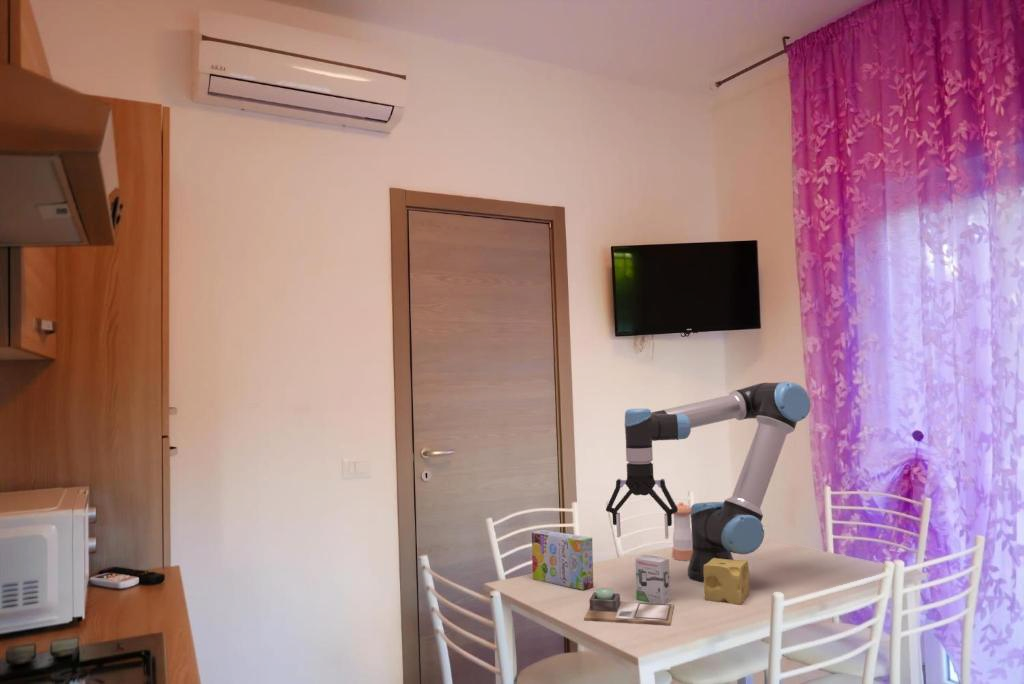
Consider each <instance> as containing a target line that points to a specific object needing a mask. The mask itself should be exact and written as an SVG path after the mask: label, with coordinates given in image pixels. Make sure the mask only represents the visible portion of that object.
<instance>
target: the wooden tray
mask: <svg viewBox="0 0 1024 684" xmlns="http://www.w3.org/2000/svg"><path fill="white" fill-rule="evenodd" d="M620 594H621V593H614V592H613V600H604V599H597V592H593V593H592V595H591V596H590V598H589V601H588V603H589V608H588V610H587V612H586V613H585V615H584V617H583V620H584V621H590V622H591V621H593V622H608V623H622V624H623V623H627V624H639V625H640V624H642V625H656V626H657V625H658V626H659V625H660V626H671V624H672V618H673V613H674V607H675V604H674V603H664V604H660V603H652V602H640V601H639V602H638V601H621V595H620Z"/></svg>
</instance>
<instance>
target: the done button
mask: <svg viewBox="0 0 1024 684" xmlns="http://www.w3.org/2000/svg"><path fill="white" fill-rule="evenodd" d="M613 591H614V589H612V588H610V587H599V588H597V589H596V592H597V599H604V600H613V593H614V592H613Z"/></svg>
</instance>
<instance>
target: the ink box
mask: <svg viewBox="0 0 1024 684" xmlns="http://www.w3.org/2000/svg"><path fill="white" fill-rule="evenodd" d="M670 577H671V576H670V559H669V558H667V557H662V556H655V555H650V554H642V555H640V556H637V557H636V558H635V584H636V585H635V589H636V591H635V593H636V600H639V601H643V602H646V603H660V604H667V603H668V602H670V601H671V584H670V583H671V581H670Z"/></svg>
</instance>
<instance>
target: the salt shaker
mask: <svg viewBox="0 0 1024 684" xmlns="http://www.w3.org/2000/svg"><path fill="white" fill-rule="evenodd" d="M676 506H677V508H678V511H677V512H676V513H673V514H672V515H673V532H672V533H673V535H672V542H673V543H672V545H673V546H672V559H673V558H674V560H675V559H676V561H681V560H689V561H690V559H691V555H692V551H693V547H692V527H691V516H690V515H691V507H690V506H689V505H687V504H684V503H683V502H679V503H678V504H676Z"/></svg>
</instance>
